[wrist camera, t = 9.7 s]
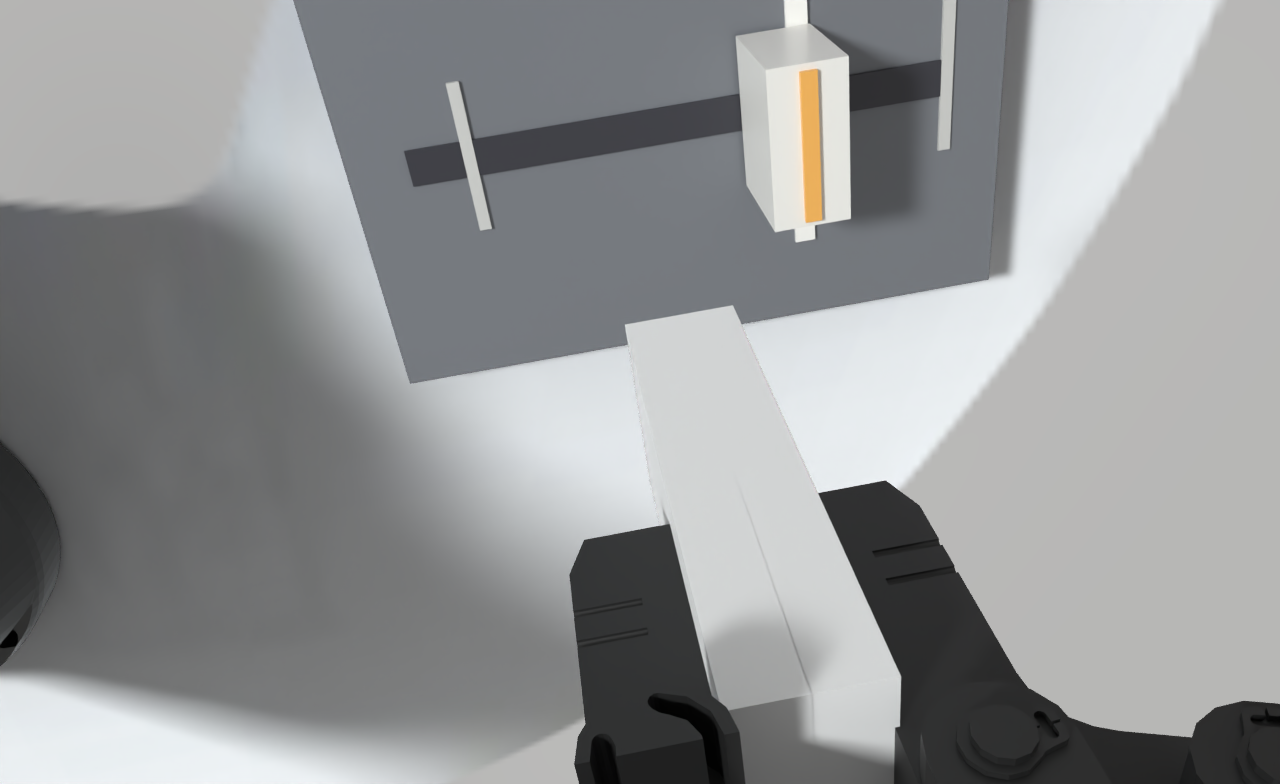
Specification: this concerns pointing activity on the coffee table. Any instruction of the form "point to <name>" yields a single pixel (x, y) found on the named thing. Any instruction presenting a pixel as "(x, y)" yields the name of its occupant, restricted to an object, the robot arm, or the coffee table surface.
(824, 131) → the fader cap
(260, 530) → the coffee table surface
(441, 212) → the console
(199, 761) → the coffee table surface
